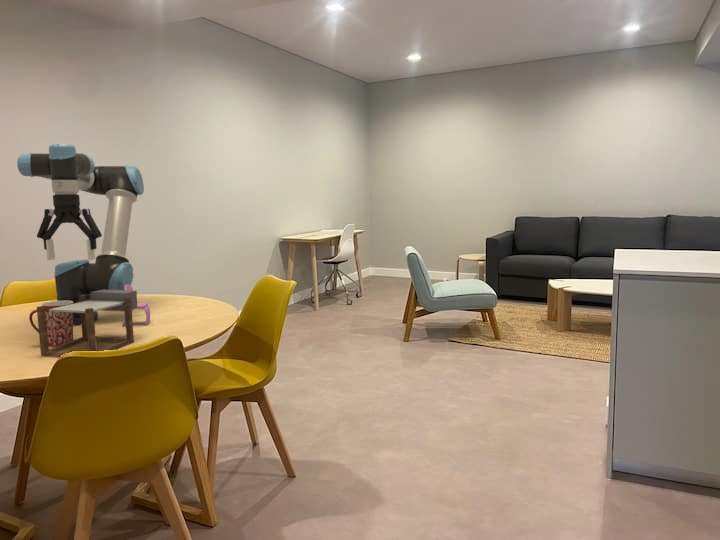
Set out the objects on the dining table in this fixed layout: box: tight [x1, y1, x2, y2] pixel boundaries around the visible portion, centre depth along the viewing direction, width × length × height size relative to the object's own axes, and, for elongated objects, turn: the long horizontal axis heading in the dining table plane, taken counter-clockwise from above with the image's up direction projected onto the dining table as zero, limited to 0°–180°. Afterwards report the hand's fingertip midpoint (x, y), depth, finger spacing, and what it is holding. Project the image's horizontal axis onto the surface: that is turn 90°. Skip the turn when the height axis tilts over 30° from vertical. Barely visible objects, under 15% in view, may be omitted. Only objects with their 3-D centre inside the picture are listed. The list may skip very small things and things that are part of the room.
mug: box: [28, 300, 74, 347], centre depth 175 cm, size 13×9×14 cm
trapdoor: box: [49, 290, 138, 313], centre depth 173 cm, size 14×24×6 cm, turn 168°
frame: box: [36, 295, 135, 358], centre depth 169 cm, size 18×19×15 cm
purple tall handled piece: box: [121, 285, 151, 328], centre depth 201 cm, size 8×9×15 cm
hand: (71, 259), depth 176 cm, fingers open, 13 cm apart
